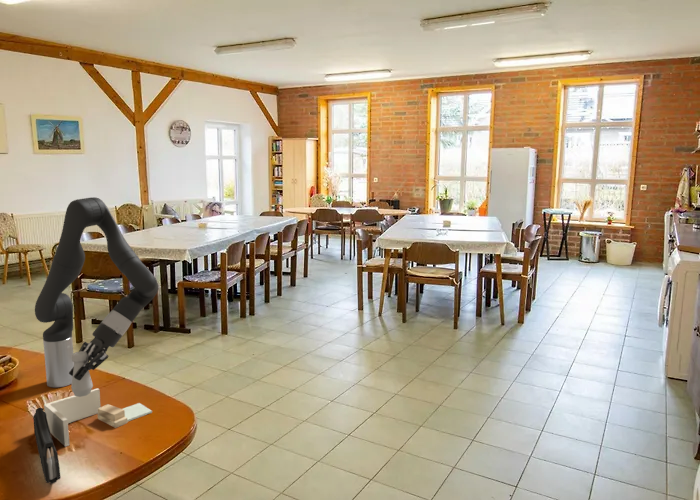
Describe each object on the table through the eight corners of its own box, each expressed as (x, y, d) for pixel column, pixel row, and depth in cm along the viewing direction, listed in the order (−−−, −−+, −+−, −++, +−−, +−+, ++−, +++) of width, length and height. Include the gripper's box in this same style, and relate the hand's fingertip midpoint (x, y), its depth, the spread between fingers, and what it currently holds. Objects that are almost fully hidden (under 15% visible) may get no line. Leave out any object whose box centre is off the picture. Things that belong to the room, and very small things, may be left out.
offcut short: (98, 415, 165) (97, 408, 165) (108, 410, 168) (107, 404, 168) (114, 421, 162) (114, 414, 161) (124, 416, 165) (124, 410, 164)
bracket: (46, 428, 160) (44, 404, 158) (99, 410, 171) (97, 388, 170) (65, 446, 150) (63, 420, 149) (120, 426, 162) (118, 402, 160)
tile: (114, 413, 170) (114, 411, 170) (139, 404, 176) (139, 402, 176) (127, 421, 165) (126, 420, 165) (152, 412, 171) (152, 410, 171)
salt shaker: (89, 387, 161) (86, 347, 159) (96, 393, 157) (93, 352, 155) (69, 393, 157) (65, 352, 155) (75, 399, 153) (71, 357, 151)
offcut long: (97, 420, 166) (97, 413, 166) (109, 415, 170) (109, 409, 169) (115, 429, 161) (115, 423, 160) (127, 424, 164) (127, 418, 164)
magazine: (31, 407, 154) (39, 419, 130) (44, 404, 156) (54, 416, 132) (37, 466, 153) (46, 489, 129) (50, 462, 155) (61, 485, 130)
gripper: (93, 317, 164) (54, 364, 157) (113, 327, 155) (73, 378, 148) (111, 329, 169) (74, 376, 162) (132, 339, 159) (93, 389, 153)
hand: (74, 377), depth 155 cm, fingers closed on salt shaker, 3 cm apart
